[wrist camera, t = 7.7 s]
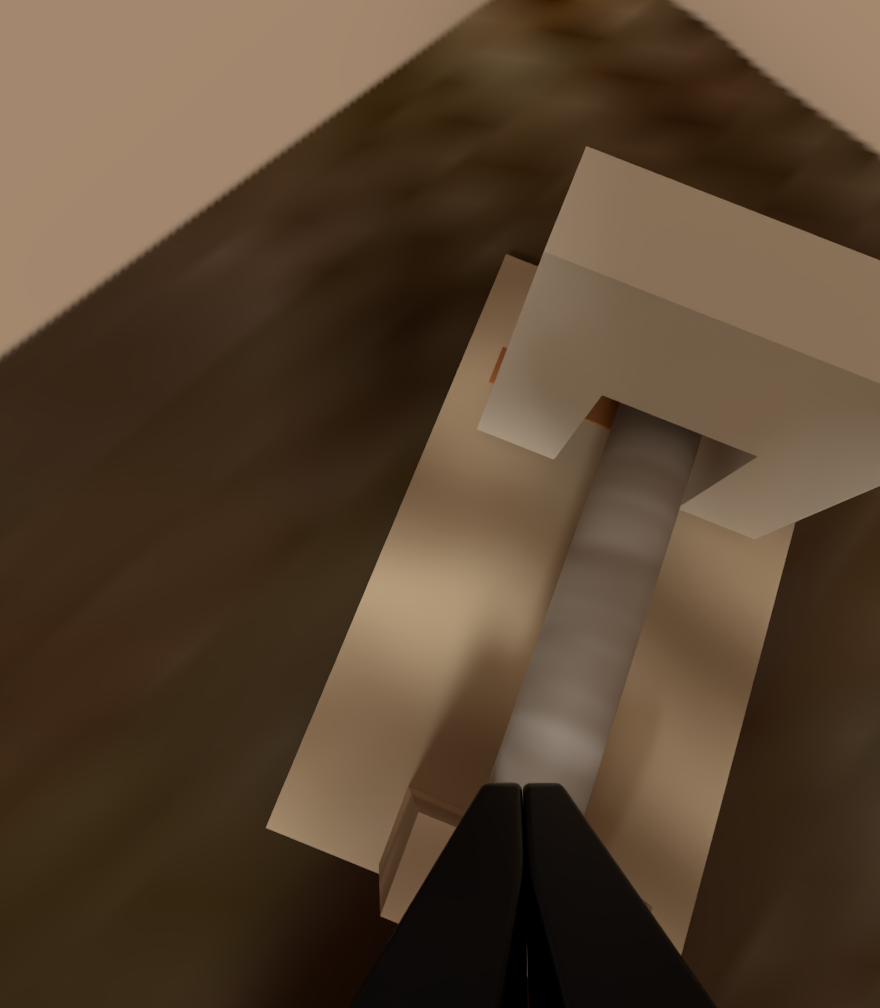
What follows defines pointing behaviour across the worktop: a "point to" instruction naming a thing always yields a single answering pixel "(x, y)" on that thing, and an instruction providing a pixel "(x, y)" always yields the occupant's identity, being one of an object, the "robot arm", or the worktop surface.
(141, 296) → the worktop surface
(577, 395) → the sleeve
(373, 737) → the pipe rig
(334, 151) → the worktop surface
